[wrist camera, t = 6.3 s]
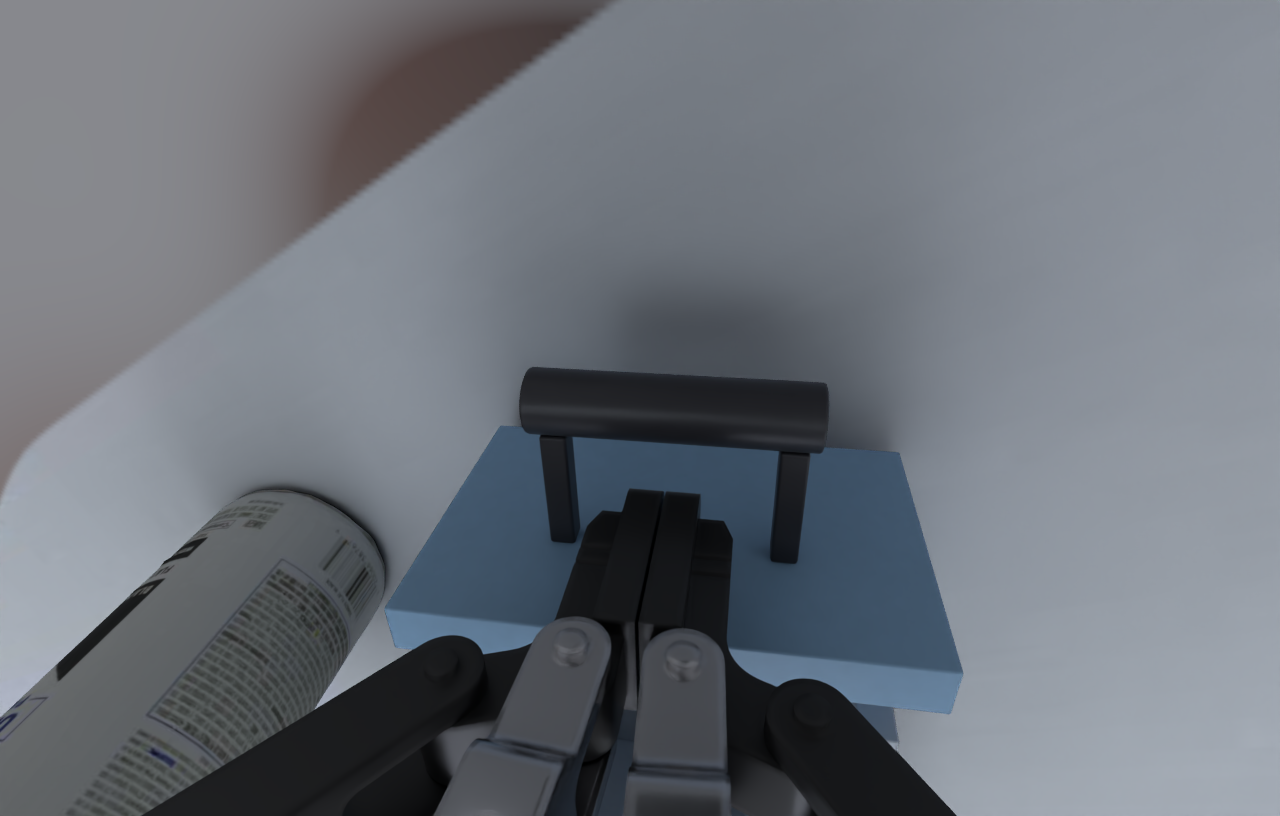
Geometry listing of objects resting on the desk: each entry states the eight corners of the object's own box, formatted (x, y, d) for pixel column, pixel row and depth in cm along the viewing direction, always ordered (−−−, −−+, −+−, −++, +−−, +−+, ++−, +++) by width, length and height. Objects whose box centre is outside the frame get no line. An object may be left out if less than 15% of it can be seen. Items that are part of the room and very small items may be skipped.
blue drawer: (479, 287, 18) (330, 433, 12) (929, 303, 17) (1026, 483, 10) (542, 714, 27) (476, 924, 21) (838, 753, 26) (861, 993, 19)
